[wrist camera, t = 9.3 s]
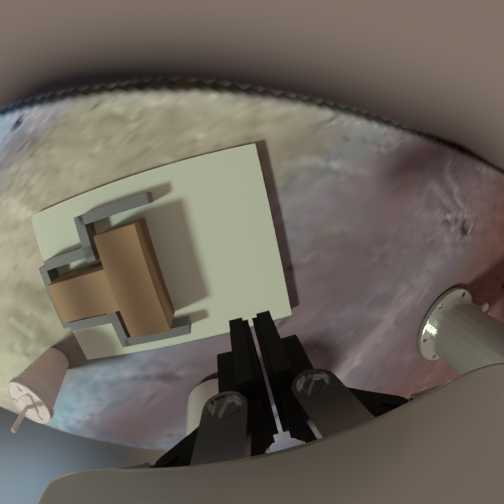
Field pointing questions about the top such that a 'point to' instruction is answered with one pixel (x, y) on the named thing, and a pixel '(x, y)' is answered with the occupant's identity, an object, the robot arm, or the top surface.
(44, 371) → the smoothie
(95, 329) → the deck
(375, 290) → the top surface
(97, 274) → the t block
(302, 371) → the robot arm
